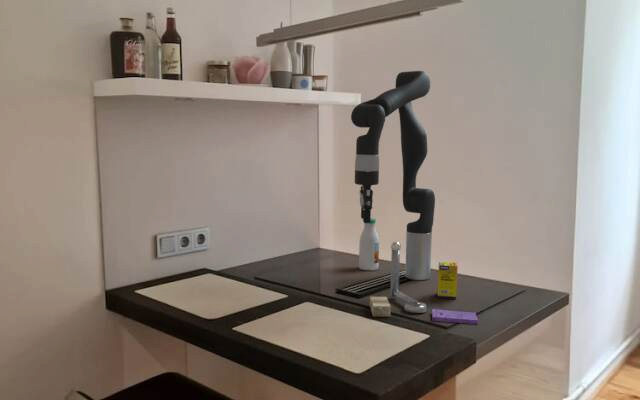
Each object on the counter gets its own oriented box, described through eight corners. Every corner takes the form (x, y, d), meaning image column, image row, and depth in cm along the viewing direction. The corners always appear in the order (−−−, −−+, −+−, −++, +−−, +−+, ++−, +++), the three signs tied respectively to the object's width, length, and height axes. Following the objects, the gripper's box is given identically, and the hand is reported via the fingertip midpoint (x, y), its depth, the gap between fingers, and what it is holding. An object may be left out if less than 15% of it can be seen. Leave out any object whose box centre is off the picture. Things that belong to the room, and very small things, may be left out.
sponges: (432, 314, 164) (432, 308, 164) (476, 318, 162) (476, 311, 162) (432, 322, 157) (432, 316, 157) (478, 326, 155) (478, 319, 155)
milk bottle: (369, 271, 215) (370, 220, 212) (354, 268, 220) (355, 218, 218) (382, 269, 220) (383, 218, 218) (368, 265, 225) (369, 216, 223)
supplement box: (456, 299, 179) (457, 266, 178) (437, 298, 180) (438, 265, 179) (455, 294, 185) (457, 262, 184) (437, 293, 186) (438, 261, 185)
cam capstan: (430, 312, 164) (432, 251, 162) (411, 314, 162) (413, 252, 160) (400, 295, 181) (402, 240, 179) (383, 297, 179) (384, 241, 177)
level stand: (369, 306, 170) (369, 296, 170) (386, 306, 170) (386, 296, 170) (373, 317, 159) (373, 307, 159) (391, 318, 159) (391, 307, 159)
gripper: (353, 167, 181) (352, 217, 183) (356, 170, 167) (355, 223, 168) (376, 168, 181) (375, 217, 183) (381, 170, 167) (379, 224, 168)
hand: (365, 220), depth 175 cm, fingers open, 8 cm apart
